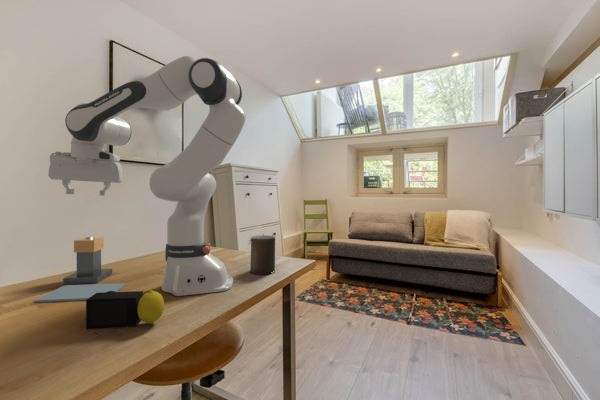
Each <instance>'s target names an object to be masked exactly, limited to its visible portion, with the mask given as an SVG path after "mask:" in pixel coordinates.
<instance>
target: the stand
mask: <svg viewBox="0 0 600 400" xmlns="http://www.w3.org/2000/svg"><path fill="white" fill-rule="evenodd" d="M93 237H94V236H87V237H86V240H92V239H93ZM112 275H113V268H102V249H101V250H98V251H96V252H76V272H74V273H72V274H70V275H67V276H65V277H63V278H62V285H88V284H100V282H101V281H103V280H105V279H107V278H108V277H110V276H112Z"/></svg>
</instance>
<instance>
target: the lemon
mask: <svg viewBox="0 0 600 400" xmlns="http://www.w3.org/2000/svg"><path fill="white" fill-rule="evenodd" d="M164 310H165V301H164V297H163V295H162V294H161V293H160V292H158V291H156V290H155V291H154V290H153V289H151V290H148V292H146V293H143V296H142V297H141V298H140V300H139V303H138V308H137V311H138V316H139V318H140V319H141V322H143V323H147V324H148V325H153V324H154V322H156V321H158V320H159V319H160V318H161V316H163V313H164Z"/></svg>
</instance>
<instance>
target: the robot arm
mask: <svg viewBox="0 0 600 400" xmlns="http://www.w3.org/2000/svg"><path fill="white" fill-rule="evenodd" d="M196 95H198V97H199V98H200V100H201V101H202V102H203V104H204V105H207V106H209V109H208V110H209V111H208V115H207V116H206V118H205V120H203V122H202V124H201V125H200V127H199V129H198V131H196V133H195V135H194V136H193V138H192V139H191V141H190V142H189V144H188V145H187V146H186V147H185V148H184V149H183V151H181V152H180V153H179V154H178V155H177V156H175V157H174V158H173V159H172V160H171V161H169V162H167V163H166V164H164V165H162V166H159V167H157V168H156V169H155V170H153V171H152V173H151V175H150V177H149V183H148V184H149V189H150V192H151V193H152V195H153V196H155V197H156V198H157V199H160V200H162V201H163V200H164V201H169V202H177V204H176V207H175V209H174V211H173V213H171V215H170V217H169V218H168V220H167V228H166V229H167V234H166V235H167V237H166V238H167V243H166V244H165V251H164V254H165V255H164V256H165V257H164V258H165V262H166V263H165V273H164V277H163V281H162V284H161V290H162V291H163V292H166V293H170V294H172V295H174V296H175V297H182V296H190V295H199V294H207V293H208V294H209V293H217V292H218V293H219V292H225V291H226V292H227V291H228V290H230V289H231V288H232V287H233V286H234V278H233V277H232V276H231V275H229V274H228V272H227V267H226V264H225V263H224V262H223V261H222V260H220V259H219V258H217V257H216V256H215V255H213V254H211V253H210V252H211V245H210V244H211V243H207V242H205V239H204V238H205V236H204V235H205V217H206V212H207V210H208V206H209V203H210V200H211V198H212V196H213V195H215V193H216V190H217V181H216V178H215V177H214V175H212V174H211V171H213V170H214V169H215V168H217V167H219V166H221V164H222V163H223V162H224V160H225V158H226V157H227V155H228V154H229V152H230V150H232V147H233V146H234V145H235V143H236V142H237V139H238V138H239V135H240V134H241V132H242V130H243V127H244V125H245V122H246V114H245V112H244V110H243V109H242V108H241V106H239V104H240V103H241V101H242V98H243V91H242V87H241V84H240V83H239V82H238V79H236V78H235V76H233V74H232V73H231V72H230V70H228V69H227V68H226V67H225V66H223V65H222V64H221V63H220V62H218V61H217V60H216V59H215V60H214V59H212V58H208V57H203V58H198V59H195V58H194V57H191V56H189V55H184V56H181V57H178V58H176V59H174V60H172V61H170V62H168V63H167V64H165V65H163V66H162V67H161V68H159V69H158V70H156V71H155V72H153V73H152V74H149V75H148V76H146V77H143V78H139V79H136V80H133V81H129V82H127V83H123V84H121V85H119V86H118V87H116V88H114V89H112V90H110V91H109V92H107V93H105V94H103V95H101V96H100V97H98V98H96V99H94V100H92V101H90V102H88V103H80V104H77V105H75V106H74V107H73V108H72V109H70V111H69V112H68V113H67V114H66V116H65V120H64V121H65V126H66V129H67V131H68V133H69V134H70V135H71V136H72V139H71V140H70V151H69V152H66V151H65V152H63V151H55V152H53V153H51V154H50V155H49V168H48V178H50V180H57V181H58V180H59V181H60V180H61V184H62V185H63V187H64V188H65V194H66V195H74V194H75V189H74V188H72V187H71V186H70V184H71V181H75V182H91V183H92V182H95V183H96V182H97V183H98V182H99V183H103V186H104V188H103V189H101V190H99V196H101V197H102V196H105V197H106V196H107V194H108V193H107V192H108V190H109V189H110V187H111V184H112V183H114V184H120V183H122V182H123V178H124V177H123V176H124V174H123V173H124V171H123V167H122V164H121V163H120V161H121V158H120V156H119V155H117V154H114V153H112V152H110V151H107V150H105V145H109V146H114V147H115V146H117V147H118V146H119V147H121V146H124V145H126V144H127V143H128V142H129V141H130V139H131V137H132V127H131V126H130V123H129V122H128V121H127V120H126V119H123V118H121V117H118V116H120V115H121V114H123V113H125V112H127V111H130V110H134V109H150V110H155V111H167V112H168V111H170V110H172V109H175V108H177V107H180V105H182V104H183V103H184V102H186V101H187V100H189V99H190V98H192V97H193V96H196Z"/></svg>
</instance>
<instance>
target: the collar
mask: <svg viewBox="0 0 600 400" xmlns="http://www.w3.org/2000/svg"><path fill="white" fill-rule="evenodd" d="M92 237H93V239H92V240H86V237H81V238H78V239H75V240H73V253H77V252H96V251H98V250H101V251H102V250H103V249H104V237H102V236H101V237H100V236H99V237H96V236H95V237H94V236H92Z"/></svg>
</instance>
